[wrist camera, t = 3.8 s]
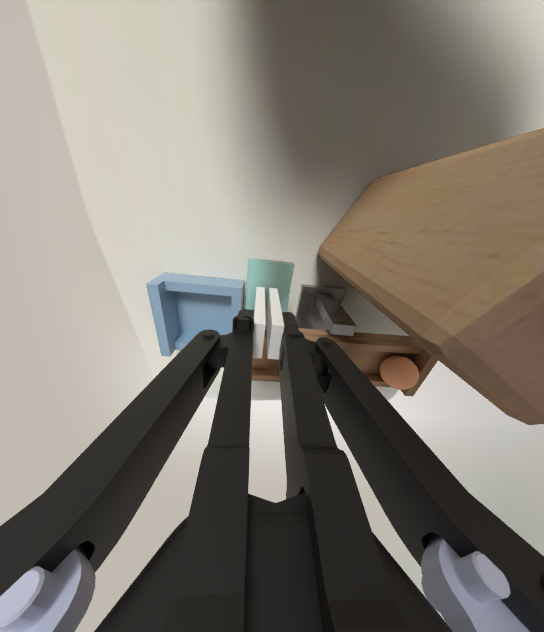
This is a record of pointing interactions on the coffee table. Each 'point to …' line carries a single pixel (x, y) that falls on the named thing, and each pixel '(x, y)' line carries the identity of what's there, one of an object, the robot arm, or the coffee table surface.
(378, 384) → the lever
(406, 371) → the ball
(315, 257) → the coffee table surface
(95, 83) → the coffee table surface
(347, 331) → the fulcrum
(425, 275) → the wooden block
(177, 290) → the blue square tray
